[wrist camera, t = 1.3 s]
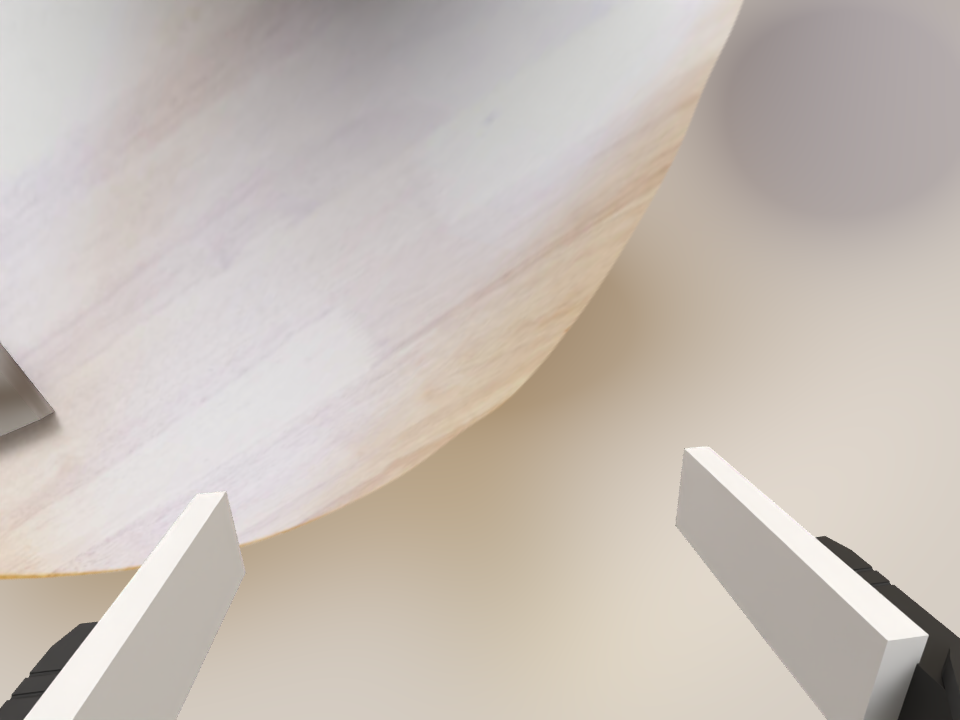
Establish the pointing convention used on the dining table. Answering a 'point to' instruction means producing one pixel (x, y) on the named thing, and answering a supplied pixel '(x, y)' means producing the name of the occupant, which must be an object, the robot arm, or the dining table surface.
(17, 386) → the laid strip
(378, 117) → the dining table surface
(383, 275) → the dining table surface
